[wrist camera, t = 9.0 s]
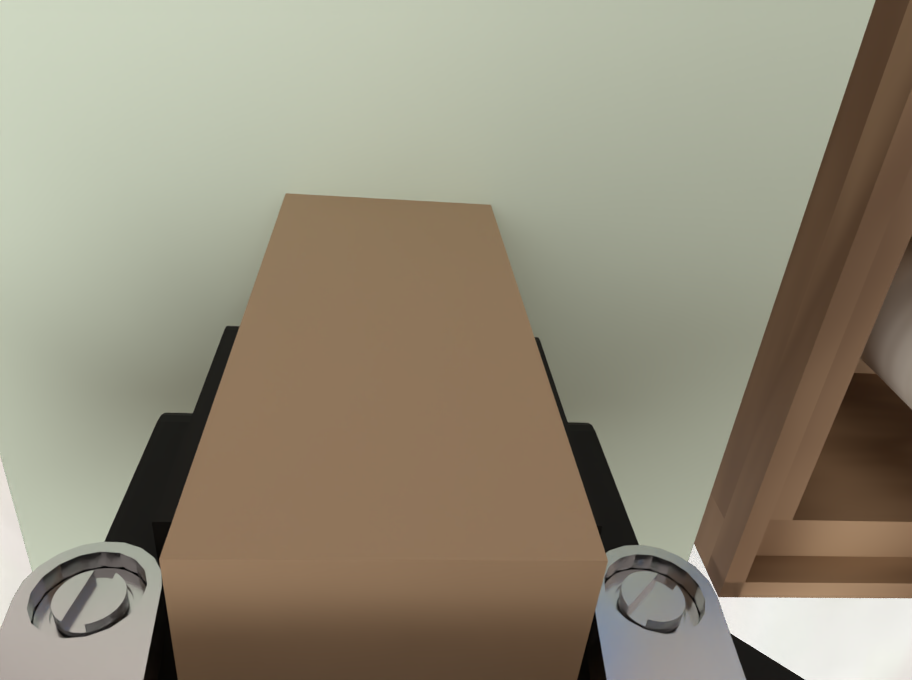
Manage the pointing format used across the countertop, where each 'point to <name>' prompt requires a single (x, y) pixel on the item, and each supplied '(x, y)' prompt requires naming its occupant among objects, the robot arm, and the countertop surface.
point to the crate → (833, 368)
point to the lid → (395, 298)
